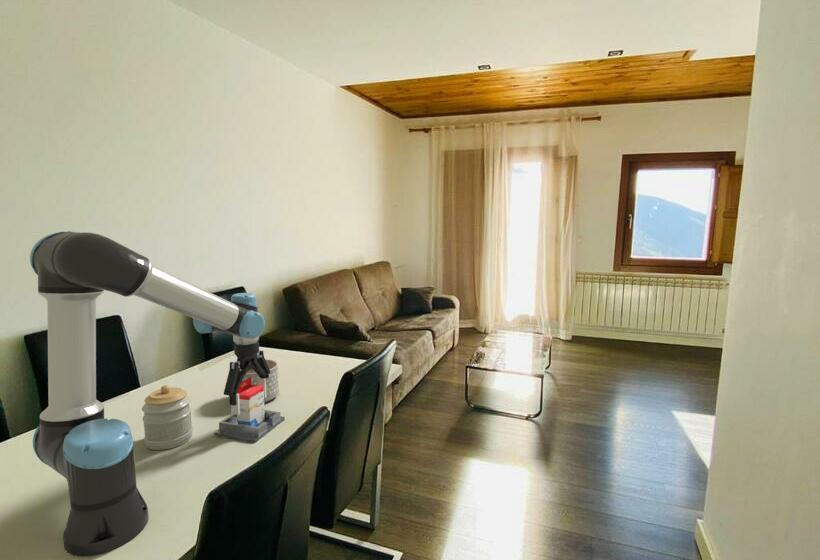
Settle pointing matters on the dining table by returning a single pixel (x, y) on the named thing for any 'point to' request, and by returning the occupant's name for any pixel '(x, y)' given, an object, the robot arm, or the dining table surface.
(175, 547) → the dining table surface
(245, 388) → the ink box
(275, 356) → the dining table surface
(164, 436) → the jar
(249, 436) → the fixture tray
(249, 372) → the planter
